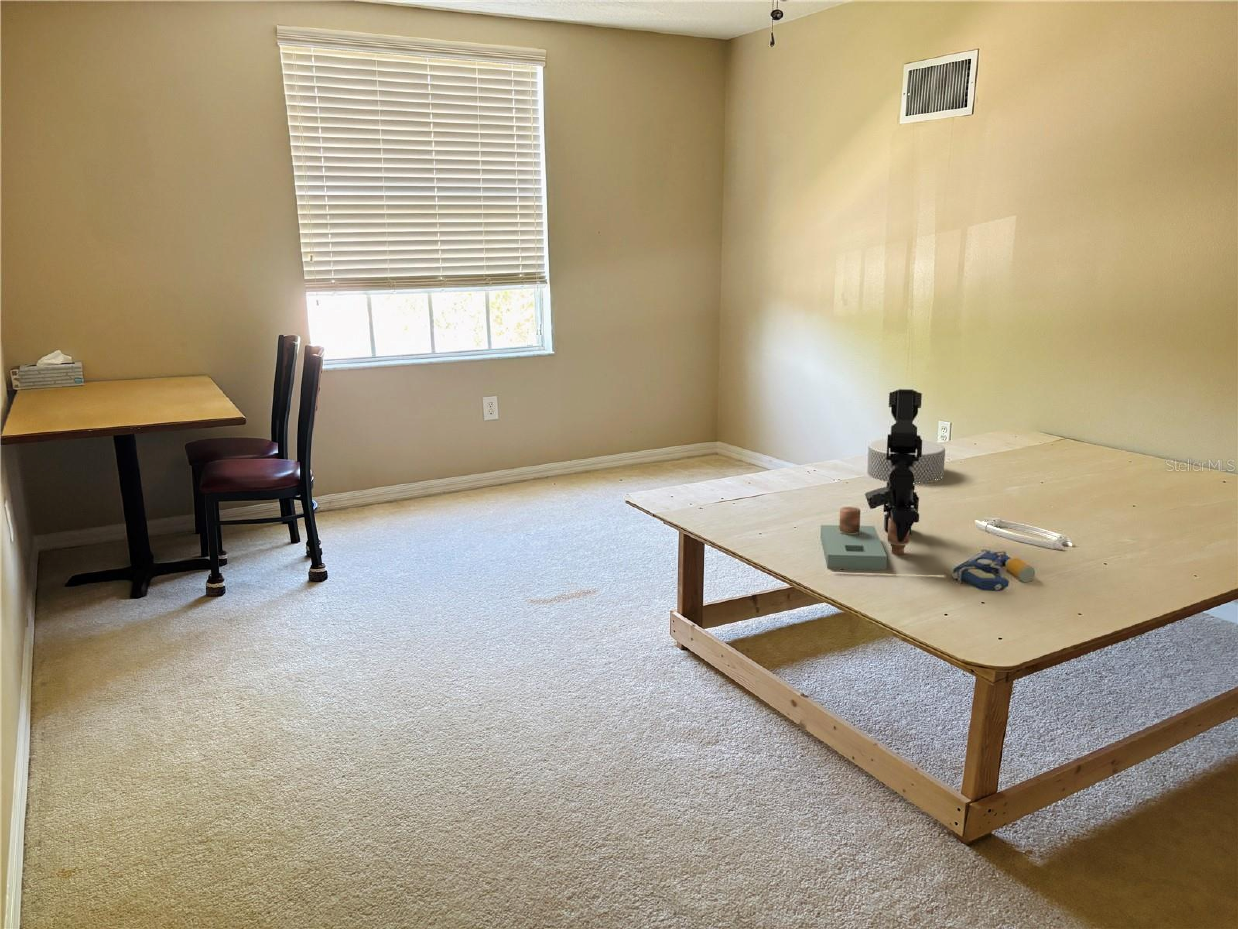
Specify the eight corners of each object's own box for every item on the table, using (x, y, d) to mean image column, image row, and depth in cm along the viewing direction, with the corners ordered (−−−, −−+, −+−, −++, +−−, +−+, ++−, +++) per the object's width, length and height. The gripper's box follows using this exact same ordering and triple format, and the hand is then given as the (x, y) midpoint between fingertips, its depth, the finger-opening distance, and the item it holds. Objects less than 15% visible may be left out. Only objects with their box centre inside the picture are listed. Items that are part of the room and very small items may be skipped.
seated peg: (858, 540, 224) (859, 507, 222) (860, 547, 219) (861, 513, 217) (837, 540, 225) (838, 506, 222) (839, 547, 220) (840, 512, 217)
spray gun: (1046, 573, 200) (984, 559, 211) (1047, 557, 199) (985, 543, 210) (1008, 601, 186) (944, 584, 197) (1009, 583, 185) (944, 567, 196)
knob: (882, 462, 306) (856, 477, 287) (883, 435, 304) (857, 449, 285) (952, 471, 292) (930, 488, 272) (954, 442, 289) (931, 457, 270)
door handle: (989, 523, 238) (1077, 545, 218) (968, 530, 232) (1057, 554, 212) (990, 513, 237) (1078, 535, 217) (969, 520, 232) (1058, 544, 212)
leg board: (873, 540, 226) (874, 526, 225) (886, 571, 204) (886, 556, 203) (820, 538, 228) (820, 525, 227) (827, 570, 206) (827, 554, 205)
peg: (906, 551, 216) (908, 516, 214) (909, 558, 211) (912, 523, 209) (885, 551, 217) (886, 516, 215) (888, 558, 212) (890, 522, 210)
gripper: (863, 469, 220) (861, 526, 223) (873, 489, 202) (870, 550, 206) (907, 470, 218) (904, 526, 222) (921, 489, 200) (917, 551, 204)
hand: (898, 538), depth 213 cm, fingers closed on peg, 5 cm apart
